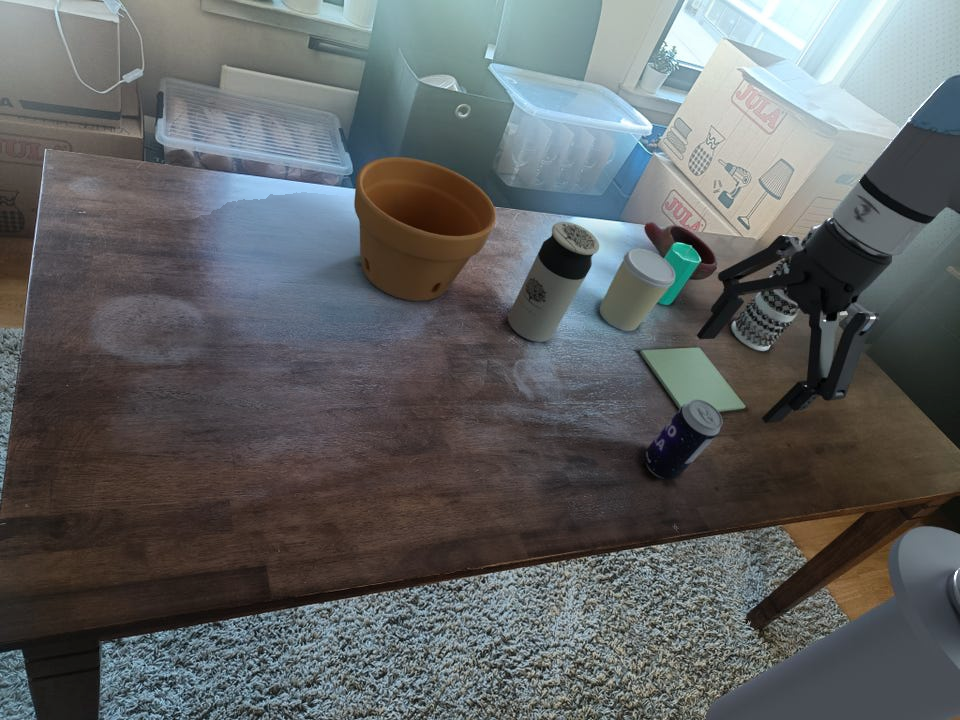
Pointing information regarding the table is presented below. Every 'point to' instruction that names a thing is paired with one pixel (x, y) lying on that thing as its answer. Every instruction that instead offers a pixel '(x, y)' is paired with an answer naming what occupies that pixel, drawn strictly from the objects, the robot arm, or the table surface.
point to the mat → (691, 378)
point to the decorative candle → (768, 311)
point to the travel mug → (553, 281)
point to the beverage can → (683, 439)
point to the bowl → (681, 235)
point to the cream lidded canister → (636, 288)
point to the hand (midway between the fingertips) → (736, 376)
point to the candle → (680, 269)
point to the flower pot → (418, 225)
